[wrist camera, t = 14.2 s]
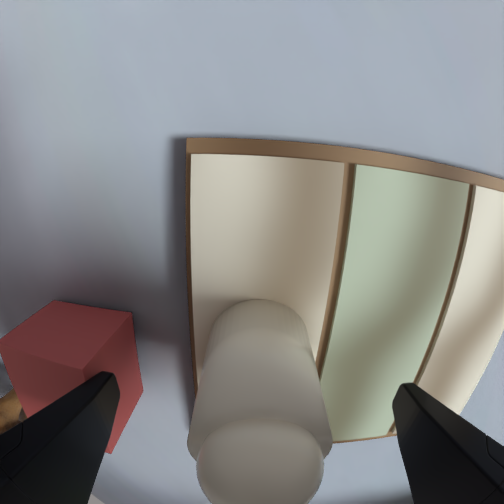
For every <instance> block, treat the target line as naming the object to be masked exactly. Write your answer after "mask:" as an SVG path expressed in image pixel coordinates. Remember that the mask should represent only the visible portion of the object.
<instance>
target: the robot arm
mask: <svg viewBox="0 0 504 504" xmlns="http://www.w3.org/2000/svg"><path fill="white" fill-rule="evenodd" d="M119 400H120V389H119V386H118V383H117V379H116V376H115V374H114V373H112V372H107V371H101V372H99V373H98V374H96V375H94V376H93V377H91V378H90V379H88V380H87V381H85V382H84V383H82V384H80V385H79V386H77V387H76V388H74V389H73V390H71V391H70V392H68V393H66V394H65V395H63V396H62V397H60V398H59V399H57V400H55V401H54V402H52V403H51V404H49V405H48V406H46V407H44V408H43V409H41V410H40V411H38V412H36V413H35V414H33V415H32V416H30V417H29V418H27V419H25V420H24V421H23V422H20V423H19V424H17V425H16V426H14V427H12V428H11V429H9V430H7V431H5V432H4V433H2V434H0V504H88V500H89V497H90V494H91V491H92V488H93V485H94V482H95V479H96V476H97V473H98V470H99V467H100V464H101V462H102V459H103V456H104V453H105V450H106V448H107V445H108V442H109V439H110V436H111V432H112V428H113V424H114V420H115V416H116V411H117V407H118V403H119ZM392 410H393V415H394V420H395V426H396V432H397V438H398V443H399V447H400V451H401V455H402V458H403V462H404V466H405V469H406V473H407V477H408V481H409V485H410V489H411V493H412V497H413V501H414V504H504V446H502V445H501V444H499V443H498V442H496V441H495V440H493V439H492V438H491V437H489V436H488V435H487V436H486V434H485V433H483V432H482V431H481V430H479V429H478V428H476V427H475V426H473V425H472V424H471V423H469V422H468V421H466V420H465V419H464V418H462V417H461V416H459V415H458V414H457V413H455V412H454V411H452V410H451V409H449V408H448V407H447V406H445V405H444V404H442V403H441V402H440V401H438V400H437V399H435V398H434V397H433V396H431V395H430V394H428V393H427V392H426V391H424V390H423V389H422V388H420V387H419V386H417V385H416V384H415V383H413V382H409V383H402V384H401V385H400V386H399V388H398V390H397V392H396V395H395V397H394V399H393V402H392Z"/></svg>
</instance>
